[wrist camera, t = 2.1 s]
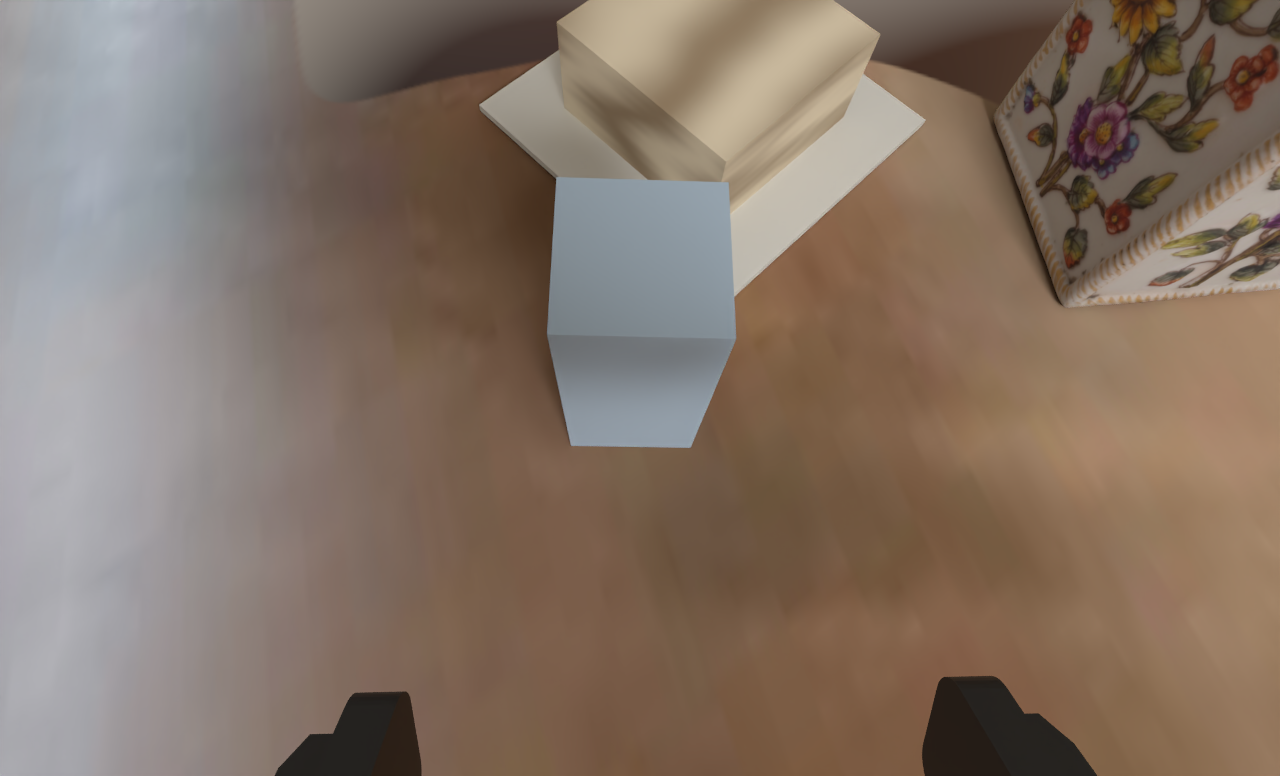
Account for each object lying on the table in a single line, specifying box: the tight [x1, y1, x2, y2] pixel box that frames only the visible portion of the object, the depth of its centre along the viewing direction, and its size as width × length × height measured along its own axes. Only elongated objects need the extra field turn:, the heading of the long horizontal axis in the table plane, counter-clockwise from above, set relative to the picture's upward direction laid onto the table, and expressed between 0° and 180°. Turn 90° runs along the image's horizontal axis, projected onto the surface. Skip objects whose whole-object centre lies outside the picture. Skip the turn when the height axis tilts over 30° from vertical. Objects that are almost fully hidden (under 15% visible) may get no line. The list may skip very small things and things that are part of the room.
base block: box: [557, 0, 880, 214], centre depth 31 cm, size 10×10×5 cm
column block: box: [547, 177, 736, 448], centre depth 24 cm, size 5×5×11 cm
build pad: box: [479, 50, 925, 297], centre depth 34 cm, size 16×16×1 cm
